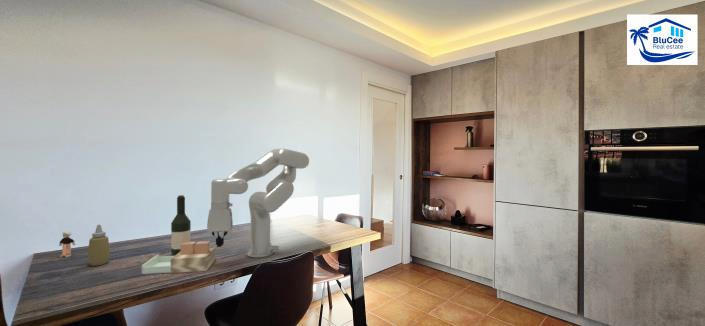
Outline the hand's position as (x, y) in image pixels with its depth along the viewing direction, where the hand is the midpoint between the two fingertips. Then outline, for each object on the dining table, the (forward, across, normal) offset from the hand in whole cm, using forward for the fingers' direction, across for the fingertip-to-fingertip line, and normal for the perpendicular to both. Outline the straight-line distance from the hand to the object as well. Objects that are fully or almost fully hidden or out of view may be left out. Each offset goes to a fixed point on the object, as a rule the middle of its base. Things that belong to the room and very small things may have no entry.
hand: (219, 246), depth 132 cm
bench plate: (+9, +11, 0) cm, 14 cm away
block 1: (+3, +13, 0) cm, 13 cm away
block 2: (+3, +7, 0) cm, 8 cm away
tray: (+9, +23, 0) cm, 25 cm away
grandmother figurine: (+9, +78, -26) cm, 82 cm away
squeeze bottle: (+9, +55, -11) cm, 56 cm away
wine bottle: (+9, +23, -18) cm, 30 cm away
